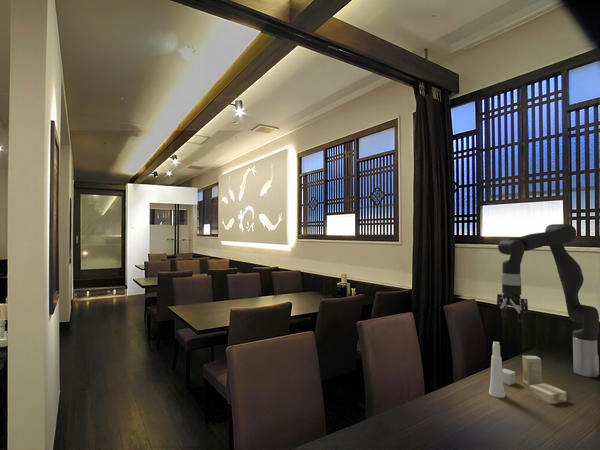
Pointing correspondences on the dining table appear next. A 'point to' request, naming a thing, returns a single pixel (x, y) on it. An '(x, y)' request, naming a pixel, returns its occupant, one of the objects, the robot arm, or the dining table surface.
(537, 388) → the maple block
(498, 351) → the cosmetic bottle
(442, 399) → the dining table surface
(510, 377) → the greygreen block
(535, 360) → the skincare box
